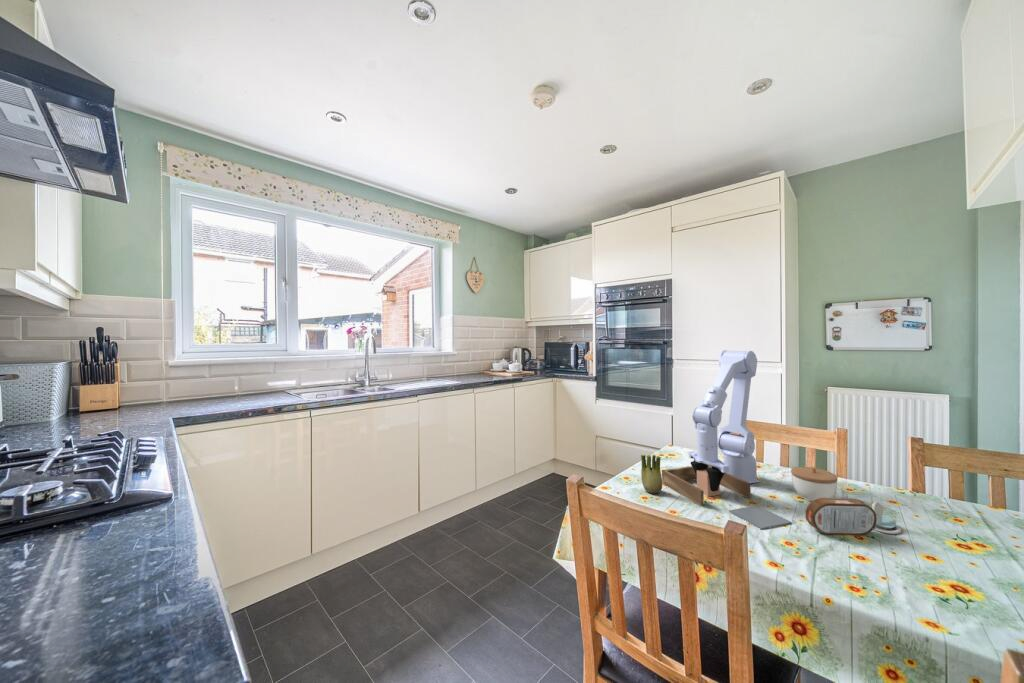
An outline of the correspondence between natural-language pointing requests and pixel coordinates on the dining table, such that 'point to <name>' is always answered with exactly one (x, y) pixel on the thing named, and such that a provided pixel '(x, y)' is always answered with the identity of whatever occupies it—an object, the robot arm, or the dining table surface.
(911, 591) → the dining table surface
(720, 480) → the robot arm
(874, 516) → the tin
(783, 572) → the dining table surface
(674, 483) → the open frame
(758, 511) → the mat
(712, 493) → the block
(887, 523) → the pacifier
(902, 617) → the dining table surface
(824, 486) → the lidded jar
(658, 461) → the fennel bulb
